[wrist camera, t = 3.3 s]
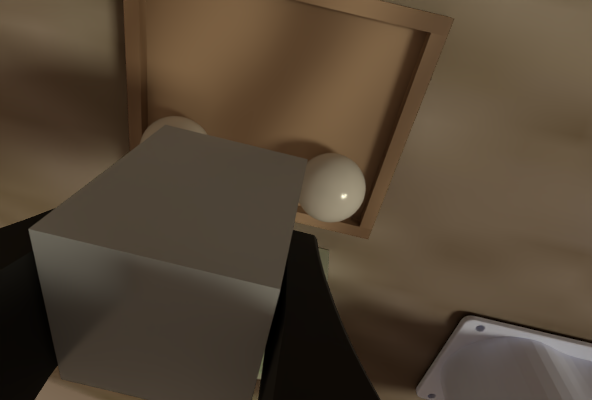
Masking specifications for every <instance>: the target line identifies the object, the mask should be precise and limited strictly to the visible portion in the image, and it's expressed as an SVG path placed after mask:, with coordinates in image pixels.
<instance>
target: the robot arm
mask: <svg viewBox="0 0 592 400" xmlns="http://www.w3.org/2000/svg"><path fill="white" fill-rule="evenodd" d="M54 209H55V208H54ZM54 209H52V210H49V211H47V212H44V213H41V214H39V215H36V216H34V217H31V218H28V219H26V220H23V221H20V222H17V223H14V224H11V225H8V226H5V227H2V228H0V400H35V398H36V397H37V395H38V393H39V392H40V390H41V389H42V387H43V386H44V384H45V383H46V381H47V379H48V378H49V376H50V375H51V374H52V372H53V371H54V370H55V368H56V367H57V365H58V362H57V358H56V353H55V349H54V344H53V340H52V335H51V330H50V326H49V321H48V317H47V312H46V307H45V303H44V298H43V294H42V289H41V285H40V280H39V275H38V271H37V266H36V262H35V257H34V252H33V248H32V243H31V239H30V234H29V230H28V229H29V228H30V227H32V226H33V225H34V224H36V223H37V222H38V221H40V220H41V219H42V218H43V217H45V216H46V215H47V214H49V213H50V212H51V211H53V210H54ZM479 325H480V326H479ZM416 393H417V396H419V397H420V398H424V399H428V400H592V343H587V342H583V341H579V340H575V339H570V338H566V337H562V336H558V335H553V334H549V333H545V332H541V331H536V330H532V329H528V328H523V327H519V326H515V325H511V324H506V323H502V322H498V321H494V320H489V319H485V318H481V317H477V316H466V317H464V318H463V319H462V320H461V321H460V323H459V324H458V326H457V327H456V329H455V330H454V332H453V333H452V335H451V336H450V338H449V339H448V341H447V342H446V344H445V345H444V347H443V348H442V350H441V351H440V353H439V354H438V356H437V357H436V359H435V360H434V362H433V363H432V365H431V366H430V368H429V369H428V371H427V372H426V374H425V375H424V377H423V378H422V380H421V381H420V383H419V384H418V386H417V387H416ZM258 400H380V398H379V396H378V394H377V392H376V391H375V389H374V387H373V385H372V383H371V382H370V380H369V378H368V376H367V374H366V372H365V370H364V368H363V366H362V364H361V362H360V361H359V359H358V357H357V355H356V353H355V350H354V348H353V346H352V344H351V342H350V340H349V337H348V335H347V333H346V331H345V328H344V326H343V323H342V321H341V319H340V316H339V314H338V311H337V308H336V306H335V303H334V300H333V297H332V294H331V292H330V289H329V286H328V283H327V280H326V276H325V273H324V269H323V266H322V262H321V258H320V254H319V249H318V243H317V239H316V237H315V236H314V235H311V234H307V233H303V232H299V231H295V230H293V232H292V237H291V241H290V246H289V251H288V256H287V260H286V265H285V270H284V275H283V279H282V284H281V289H280V293H279V297H278V300H277V304H276V308H275V312H274V316H273V320H272V323H271V327H270V331H269V335H268V339H267V343H266V346H265V352H264V359H263V367H262V375H261V382H260V390H259V397H258Z"/></svg>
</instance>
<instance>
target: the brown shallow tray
mask: <svg viewBox="0 0 592 400" xmlns="http://www.w3.org/2000/svg"><path fill="white" fill-rule="evenodd" d="M123 6H124V30H125V53H126V77H127V100H128V124H129V148H130V151H131V150H133V149H134V148H135V147H137V146H138V145H139V144H140V141H141V138H142V135H143V133H144V132H145V130H146V129H147V128H148V127H149V126H150V125H151V124H152V123H153V122H155V121H156V120H158V119H161V118H164V117H168V116H181V117H185V118H188V119H191V120H193V121H195V122H196V123H198V124H199V125H200V126H201V127H202V128H203V129H204V130H205V131H206V133H207V134H208V135H210V136H214V137H218V138H222V139H227V140H231V141H235V142H239V143H243V144H247V145H251V146H255V147H259V148H264V149H268V150H272V151H276V152H280V153H284V154H288V155H292V156H297V157H301V158H305V159H308V161H309V160H310V159H312V158H314V157H316V156H318V155H320V154H324V153H337V154H341V155H344V156H346V157H348V158H350V159H351V160H353V161H354V162H355V163H356V164H357V165H358V166H359V168H360V169H361V171H362V173H363V175H364V179H365V183H366V191H365V197H364V200H363V202H362V204H361V206H360V207H359V209H358V210H357V211H356V212H355V213H354V214H353V215H352V216H350V217H349V218H347V219H345V220H342V221H339V222H322V221H319V220H316V219H314V218H313V217H311V216H310V215H308V214H307V213H306V212H305V211H304V210H303V208H302V207H301V205H300V203H299V204H298V208H297V213H296V218H295V222H297V223H301V224H305V225H310V226H314V227H318V228H322V229H327V230H331V231H335V232H339V233H343V234H348V235H352V236H356V237H360V238H365V239H368V238H369V236H370V233H371V231H372V228H373V225H374V223H375V220H376V218H377V215H378V213H379V210H380V208H381V205H382V202H383V200H384V197H385V195H386V192H387V190H388V187H389V185H390V182H391V179H392V177H393V174H394V172H395V169H396V167H397V164H398V162H399V159H400V156H401V154H402V151H403V149H404V146H405V144H406V141H407V139H408V136H409V133H410V131H411V128H412V126H413V123H414V121H415V118H416V116H417V113H418V110H419V108H420V105H421V103H422V100H423V98H424V95H425V93H426V90H427V88H428V85H429V82H430V80H431V77H432V75H433V72H434V70H435V67H436V65H437V62H438V59H439V57H440V54H441V52H442V49H443V47H444V44H445V42H446V39H447V36H448V34H449V31H450V29H451V26H452V24H453V21H454V18H451V17H447V16H443V15H439V14H435V13H431V12H427V11H423V10H418V9H414V8H410V7H406V6H402V5H398V4H393V3H389V2H385V1H381V0H123ZM308 161H307V162H308Z"/></svg>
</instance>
